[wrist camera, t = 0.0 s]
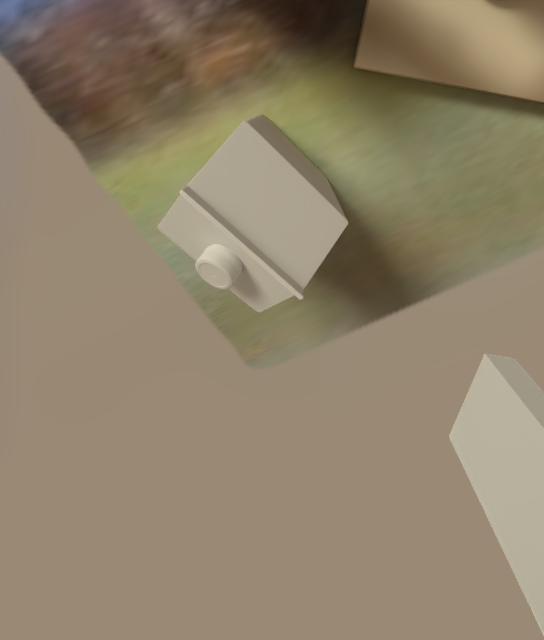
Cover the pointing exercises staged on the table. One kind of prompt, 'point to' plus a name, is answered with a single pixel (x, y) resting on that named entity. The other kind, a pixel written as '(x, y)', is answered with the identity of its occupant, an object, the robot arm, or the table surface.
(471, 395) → the robot arm
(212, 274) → the milk carton
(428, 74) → the stud board
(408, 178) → the table surface
